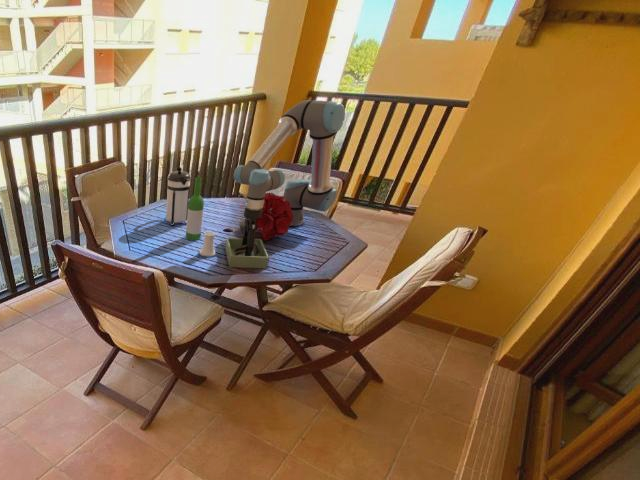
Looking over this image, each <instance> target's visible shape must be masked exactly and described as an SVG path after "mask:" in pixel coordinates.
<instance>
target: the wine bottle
mask: <svg viewBox="0 0 640 480" xmlns="http://www.w3.org/2000/svg"><path fill="white" fill-rule="evenodd" d="M201 188H202V178H201V177H195V179H194V189H193V195H192V196H191V197H189V203H188V214H187V220H186V223H187V225H186V227H185V237H186V238H187V240H190V241H198V240H200V238H201V237H202V236H201V235H202V227H203V216H204V206H205V201H204V198H203V197H202V196H201Z"/></svg>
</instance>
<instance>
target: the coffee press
mask: <svg viewBox="0 0 640 480" xmlns="http://www.w3.org/2000/svg"><path fill="white" fill-rule="evenodd" d="M182 170H183V169H182V167H181V166H178V167H177V170H175V171H172V172H170V173H168V176H167V177H166V178H167V179H166V180H167V185H166V189H167V193H166V209H165V210H166V213H165V218H164V219H163V221H164V222H169V223H170V224H173V223H174V224H173V225H170V224H169V226H170V227H174V225H175V224H181V223H184V224H185V225H186V226H187V214H188V203H189V199H190V189H191V180H192V177H191V175H190V173H189V172H187V171H184V170H183V171H182Z"/></svg>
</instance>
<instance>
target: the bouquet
mask: <svg viewBox="0 0 640 480" xmlns="http://www.w3.org/2000/svg"><path fill="white" fill-rule="evenodd" d="M269 193H270V192H266V194H265V200H264V205H263V208H262V215H261V218H259V219H256V225H257V227H256V231H258V229H259V230H261V231H260V235H261V236H260V239H261V240H262V242H264V241H269V240H271V239H272V238H275V237H279V236H281V237H283V236H285V235H286V233H288V232H289V228H291V227H290V225H291V223H292V220H293V218H292V217H294V215H292V212H291V207H290V203H289V201H287V200H285V201H283V200H284V199H285V197H283V196H284V195H277V194H275V195H273V194H274V193H273V194H269ZM245 222H246V217H244V219H242V220H240V221H239V224H238V226H239V228H240V230H243V231H244V226H245Z"/></svg>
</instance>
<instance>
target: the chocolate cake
mask: <svg viewBox="0 0 640 480" xmlns="http://www.w3.org/2000/svg"><path fill="white" fill-rule="evenodd" d="M245 246H247V245H243V246H240V247H236V248H234V251H235V252H236V254H235V256H245V250H246V247H245ZM259 253H260V247H259V245H258V242H255V243H254V248H252V253H251V256H256V255H258V254H259Z"/></svg>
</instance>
